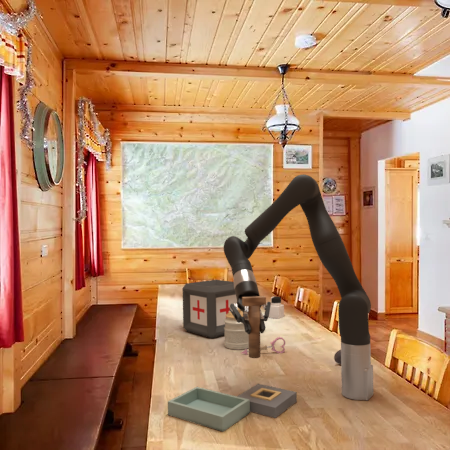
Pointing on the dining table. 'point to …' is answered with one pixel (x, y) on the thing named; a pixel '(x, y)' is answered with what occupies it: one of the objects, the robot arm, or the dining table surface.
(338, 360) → the perforated stone tool
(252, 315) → the t key
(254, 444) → the dining table surface
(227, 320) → the jar
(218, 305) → the first aid kit
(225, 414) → the tray
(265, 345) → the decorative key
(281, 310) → the medicine bottle
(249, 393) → the plate
